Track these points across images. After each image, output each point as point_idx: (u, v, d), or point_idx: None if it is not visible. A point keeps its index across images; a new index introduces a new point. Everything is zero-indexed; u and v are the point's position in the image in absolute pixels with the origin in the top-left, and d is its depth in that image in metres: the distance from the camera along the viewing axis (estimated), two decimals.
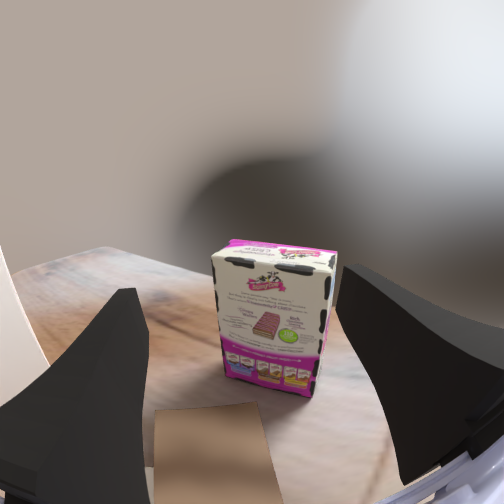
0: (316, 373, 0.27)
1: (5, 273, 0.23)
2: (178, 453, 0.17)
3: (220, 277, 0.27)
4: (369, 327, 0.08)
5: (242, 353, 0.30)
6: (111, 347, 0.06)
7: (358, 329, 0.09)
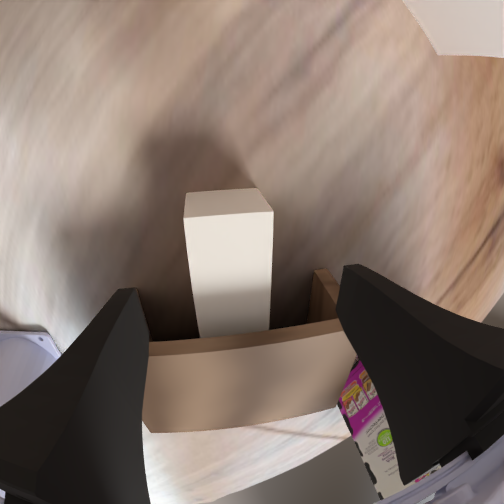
0: (344, 419, 0.24)
1: None
2: (284, 365, 0.15)
3: None
4: (369, 327, 0.08)
5: None
6: (111, 347, 0.06)
7: (358, 329, 0.09)
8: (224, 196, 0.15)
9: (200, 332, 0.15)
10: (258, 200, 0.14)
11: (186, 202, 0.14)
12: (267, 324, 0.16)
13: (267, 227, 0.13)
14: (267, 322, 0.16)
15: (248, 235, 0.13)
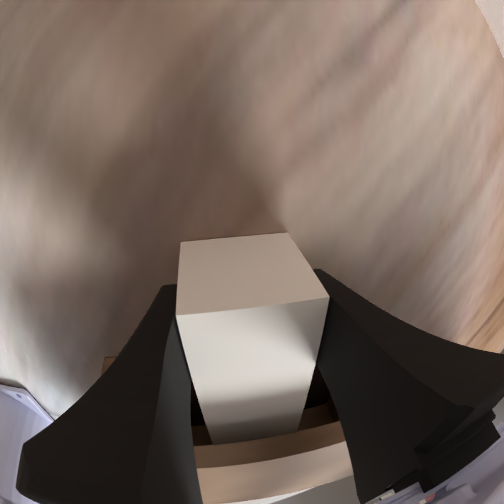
0: None
1: None
2: (317, 461, 0.10)
3: None
4: (325, 337, 0.08)
5: None
6: (170, 344, 0.06)
7: None
8: (241, 255, 0.09)
9: (210, 431, 0.10)
10: (298, 266, 0.09)
11: (180, 269, 0.09)
12: (299, 417, 0.11)
13: (316, 319, 0.08)
14: (299, 416, 0.11)
15: (286, 333, 0.08)
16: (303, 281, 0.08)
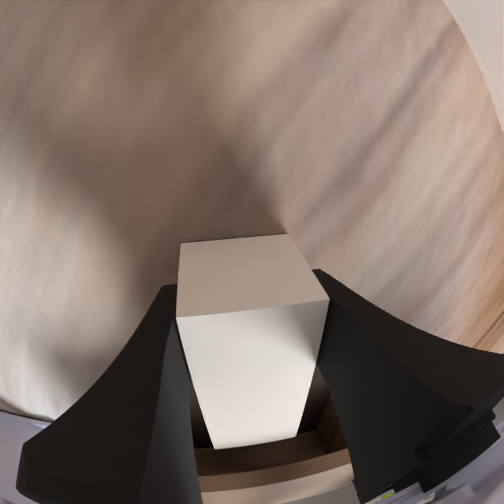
0: None
1: None
2: (302, 484, 0.12)
3: None
4: (325, 337, 0.08)
5: None
6: (170, 344, 0.06)
7: None
8: (242, 257, 0.09)
9: (210, 432, 0.10)
10: (298, 268, 0.09)
11: (180, 271, 0.09)
12: (298, 418, 0.11)
13: (316, 321, 0.08)
14: (299, 417, 0.11)
15: (286, 334, 0.08)
16: (303, 283, 0.08)
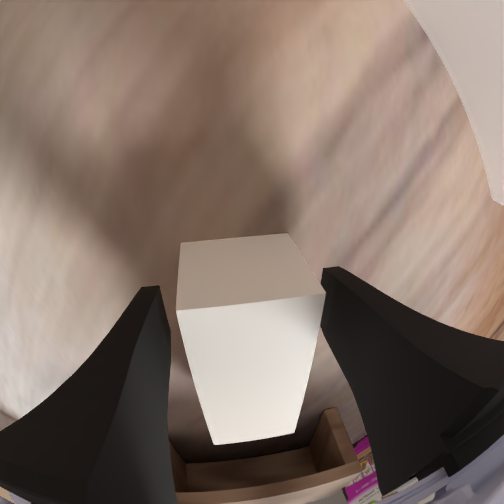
0: None
1: None
2: (294, 496, 0.14)
3: None
4: (347, 332, 0.08)
5: None
6: (141, 346, 0.06)
7: (337, 334, 0.09)
8: (240, 252, 0.10)
9: (209, 427, 0.10)
10: (295, 264, 0.09)
11: (180, 266, 0.09)
12: (297, 414, 0.11)
13: (313, 315, 0.08)
14: (297, 412, 0.11)
15: (283, 328, 0.08)
16: (300, 278, 0.08)
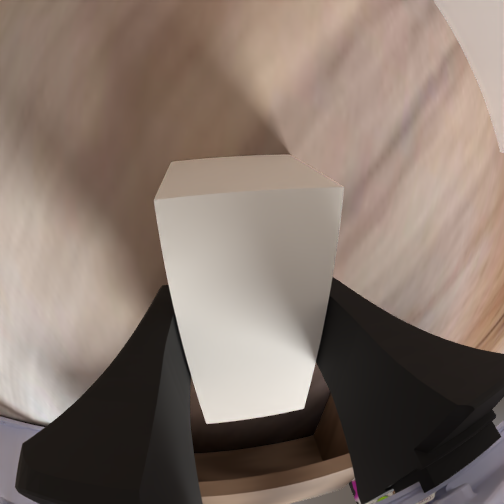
0: None
1: None
2: (299, 488, 0.13)
3: None
4: (326, 337, 0.08)
5: None
6: (170, 344, 0.06)
7: None
8: (238, 164, 0.08)
9: (200, 397, 0.09)
10: (303, 170, 0.07)
11: (167, 174, 0.07)
12: (308, 380, 0.09)
13: (330, 220, 0.06)
14: (309, 377, 0.09)
15: (292, 237, 0.06)
16: (311, 177, 0.07)
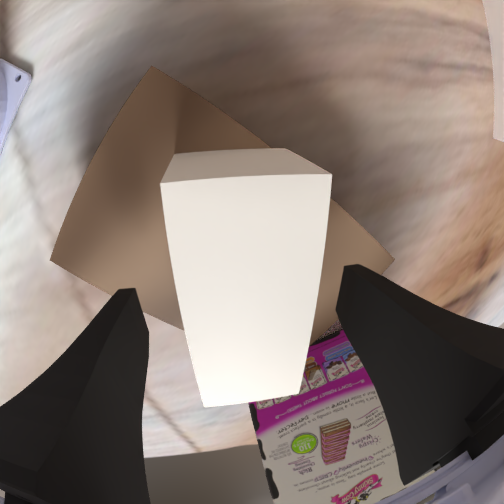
0: (250, 409, 0.21)
1: None
2: None
3: None
4: (369, 327, 0.08)
5: (348, 378, 0.20)
6: (111, 347, 0.06)
7: (358, 329, 0.09)
8: (237, 156, 0.09)
9: (198, 378, 0.09)
10: (296, 160, 0.08)
11: (171, 164, 0.08)
12: (303, 363, 0.10)
13: (319, 204, 0.07)
14: (303, 360, 0.10)
15: (285, 219, 0.07)
16: (302, 166, 0.07)
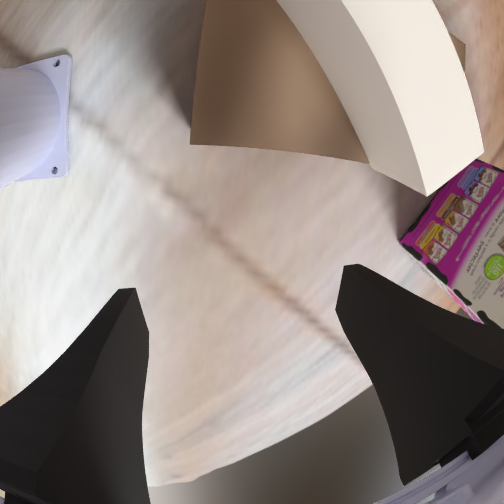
0: (429, 268, 0.18)
1: None
2: None
3: None
4: (369, 327, 0.08)
5: (492, 192, 0.15)
6: (111, 347, 0.06)
7: (358, 329, 0.09)
8: None
9: (413, 143, 0.08)
10: None
11: None
12: (472, 104, 0.07)
13: None
14: (471, 100, 0.07)
15: None
16: None
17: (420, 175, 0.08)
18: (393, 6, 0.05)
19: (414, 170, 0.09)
